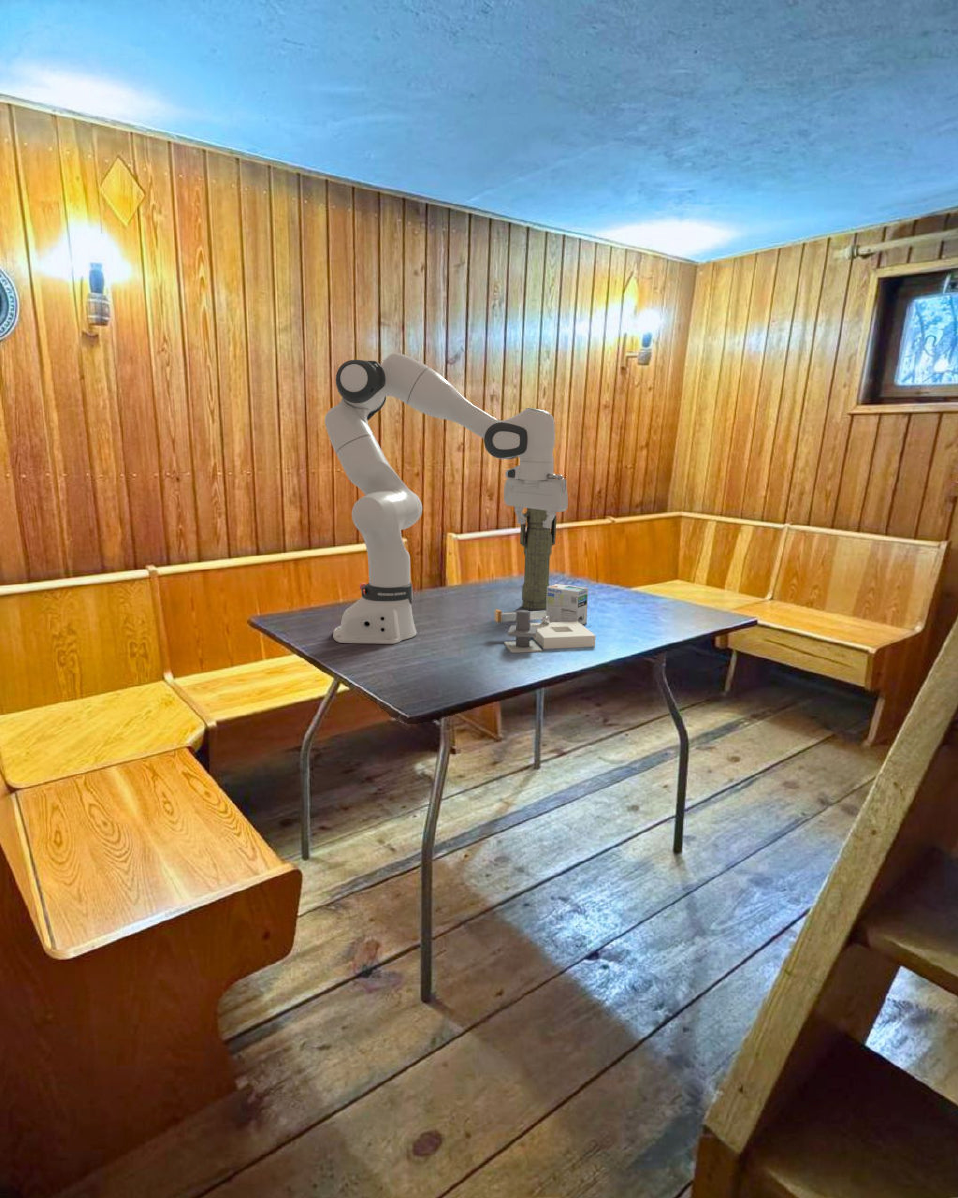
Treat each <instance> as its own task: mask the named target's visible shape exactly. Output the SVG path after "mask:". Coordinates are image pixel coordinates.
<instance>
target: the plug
mask: <svg viewBox="0 0 958 1198" xmlns="http://www.w3.org/2000/svg"><path fill="white" fill-rule="evenodd" d="M530 611H531V610H528V609H520V610H516V621H515V625H510V627H509V629H508V632H507V636H508V637H515V641H516V646H517V647H529V646H530V641H531V640H530V639H531V638H533V637H536V634H537V627H534V626H530V623H531V620H530Z"/></svg>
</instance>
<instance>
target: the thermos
mask: <svg viewBox="0 0 958 1198" xmlns="http://www.w3.org/2000/svg"><path fill="white" fill-rule="evenodd" d="M523 516H524V517H526V520H525V521H526V523H525V524H520V533H519V534H520V537H519V543H520V545H521V546H522V547H523V555H524V573H523V574H524V575H523V576H524V577H523V579H524V580H523V584H522V585H521V586H522V587H521V600H522V605H521V608H522V609H523V610H527V611H546V596H547V587H548V586H551V585H550V562H551V558H550V557H551V555H552V550H553V546H554V545H555V544H556V537H557V536H556V534H557V533H556V532H557V515H555V517H554V519H553V521H552V527H551V528H544V527H543V521H546V519H547V516H548V515H546V510H539V509H531V508H526V512H525V513H523Z"/></svg>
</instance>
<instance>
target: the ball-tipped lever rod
mask: <svg viewBox="0 0 958 1198" xmlns="http://www.w3.org/2000/svg"><path fill="white" fill-rule="evenodd" d="M529 611H530V621H533V620H540V623H542V624H549V623H550V616H546V613H547V612H546V610H529ZM494 621H495V622H497V623H504V622H516V612H514V611H513V612H502V610H500V609H498V608H496V609H495V610H494Z"/></svg>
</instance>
